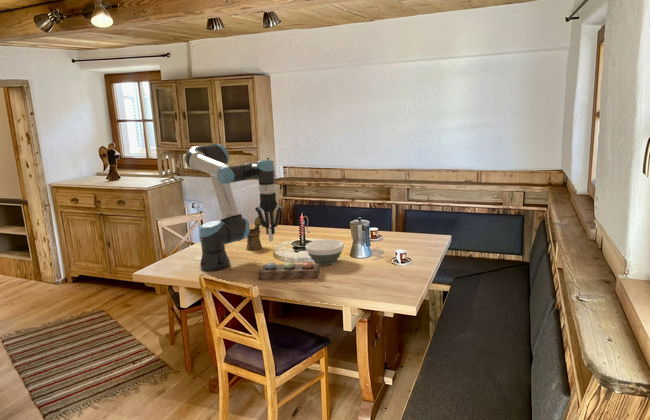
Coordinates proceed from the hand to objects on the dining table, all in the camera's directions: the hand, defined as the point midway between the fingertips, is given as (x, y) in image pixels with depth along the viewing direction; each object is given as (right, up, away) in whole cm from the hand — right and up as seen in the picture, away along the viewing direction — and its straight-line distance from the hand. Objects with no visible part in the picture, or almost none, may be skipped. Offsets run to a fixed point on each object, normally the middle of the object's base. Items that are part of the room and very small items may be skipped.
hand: (271, 240), depth 226 cm
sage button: (+9, -15, -3) cm, 18 cm away
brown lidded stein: (-14, -7, +50) cm, 53 cm away
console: (+9, -17, -2) cm, 19 cm away
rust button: (+18, -15, -4) cm, 24 cm away
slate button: (0, -16, -1) cm, 16 cm away
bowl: (+26, -12, +14) cm, 32 cm away
